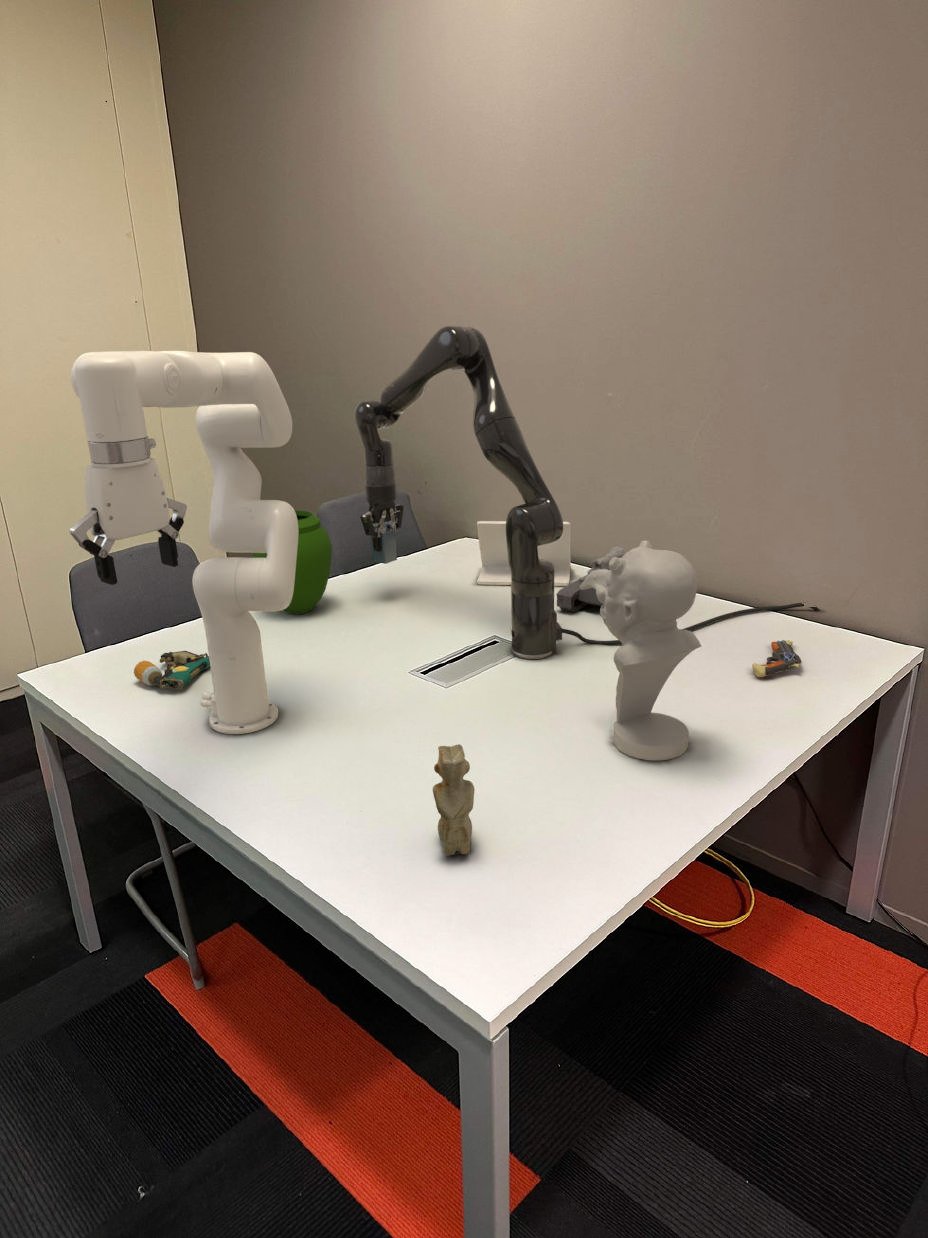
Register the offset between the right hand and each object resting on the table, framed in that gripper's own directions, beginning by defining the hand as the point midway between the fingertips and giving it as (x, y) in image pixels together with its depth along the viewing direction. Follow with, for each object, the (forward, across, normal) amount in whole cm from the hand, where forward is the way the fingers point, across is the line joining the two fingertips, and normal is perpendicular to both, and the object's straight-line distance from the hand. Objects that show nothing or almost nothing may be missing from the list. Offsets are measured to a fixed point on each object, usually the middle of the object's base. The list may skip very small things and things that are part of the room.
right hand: (384, 548), depth 218 cm
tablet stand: (+14, -37, +18) cm, 43 cm away
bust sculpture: (+15, +31, +86) cm, 92 cm away
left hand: (-24, +90, +39) cm, 101 cm away
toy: (+14, -29, +51) cm, 60 cm away
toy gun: (+15, -15, +95) cm, 98 cm away
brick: (+3, 0, 0) cm, 3 cm away
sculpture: (+15, +74, +80) cm, 110 cm away
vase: (+14, +18, -14) cm, 27 cm away
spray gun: (+14, +61, -5) cm, 63 cm away
